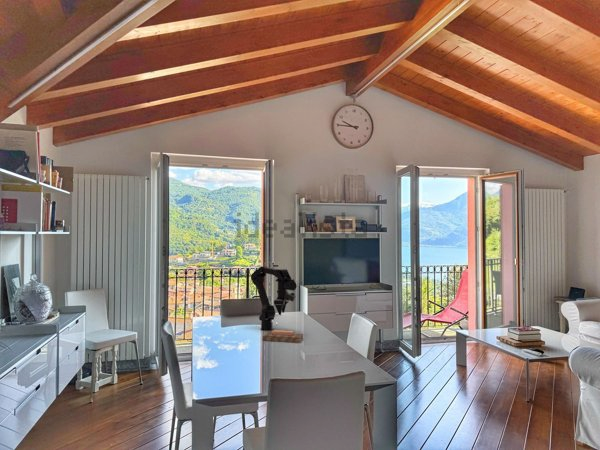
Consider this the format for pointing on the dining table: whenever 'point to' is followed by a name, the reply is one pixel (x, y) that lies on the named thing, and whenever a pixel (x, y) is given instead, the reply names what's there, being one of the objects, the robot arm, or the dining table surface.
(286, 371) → the dining table surface
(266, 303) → the robot arm
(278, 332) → the tall terracotta pillar
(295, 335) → the brown slotted board
